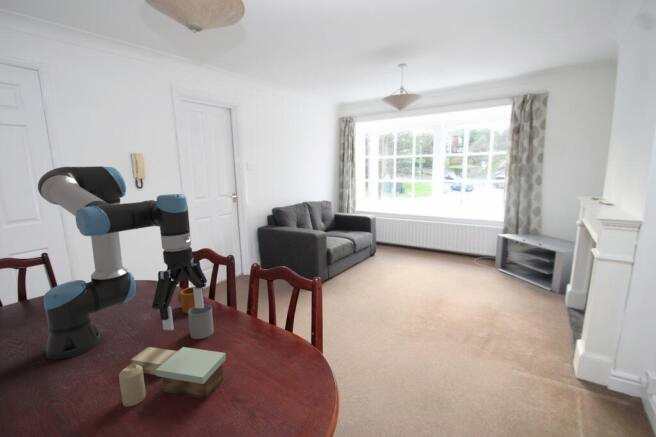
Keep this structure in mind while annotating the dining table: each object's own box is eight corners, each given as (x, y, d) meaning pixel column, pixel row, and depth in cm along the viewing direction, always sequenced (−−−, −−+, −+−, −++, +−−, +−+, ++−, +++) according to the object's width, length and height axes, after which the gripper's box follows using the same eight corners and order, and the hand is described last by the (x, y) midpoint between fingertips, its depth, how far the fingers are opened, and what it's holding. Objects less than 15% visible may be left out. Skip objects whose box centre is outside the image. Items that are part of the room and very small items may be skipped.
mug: (190, 301, 146) (189, 284, 145) (207, 307, 140) (206, 289, 139) (173, 308, 139) (171, 290, 137) (189, 315, 132) (188, 295, 131)
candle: (129, 392, 87) (125, 361, 85) (149, 391, 87) (145, 360, 85) (118, 407, 81) (113, 374, 80) (139, 406, 82) (135, 372, 80)
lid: (156, 376, 85) (155, 369, 84) (183, 352, 95) (182, 347, 95) (203, 383, 81) (202, 377, 81) (225, 359, 92) (225, 353, 91)
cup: (205, 340, 113) (203, 315, 111) (185, 338, 114) (183, 313, 113) (217, 328, 121) (215, 305, 119) (199, 326, 123) (197, 303, 121)
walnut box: (164, 391, 87) (162, 372, 86) (183, 373, 95) (181, 355, 94) (206, 399, 84) (205, 379, 83) (223, 379, 91) (221, 361, 90)
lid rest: (131, 370, 96) (130, 359, 95) (149, 357, 103) (148, 346, 102) (163, 376, 93) (162, 364, 93) (179, 362, 100) (178, 351, 99)
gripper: (154, 261, 73) (165, 341, 77) (214, 238, 98) (220, 300, 101) (129, 260, 75) (140, 339, 78) (194, 238, 99) (200, 299, 102)
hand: (185, 317), depth 90 cm, fingers open, 13 cm apart
